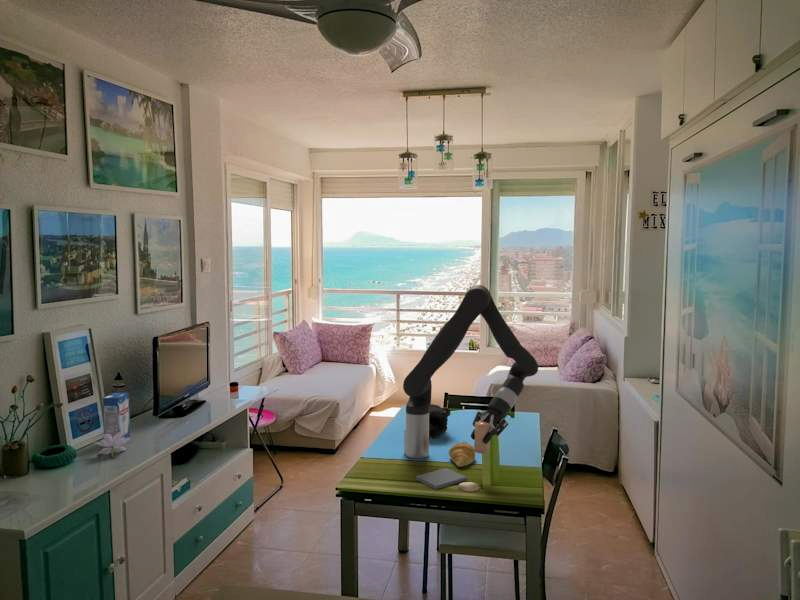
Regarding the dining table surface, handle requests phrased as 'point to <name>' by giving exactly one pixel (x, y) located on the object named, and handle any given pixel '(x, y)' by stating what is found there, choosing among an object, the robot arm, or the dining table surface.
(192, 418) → the dining table surface
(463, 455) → the croissant
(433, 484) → the slate board
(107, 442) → the water lily
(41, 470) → the dining table surface
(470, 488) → the cork coaster
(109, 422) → the milk carton
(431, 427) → the puffin
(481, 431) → the pinkish tan rounded cylinder
